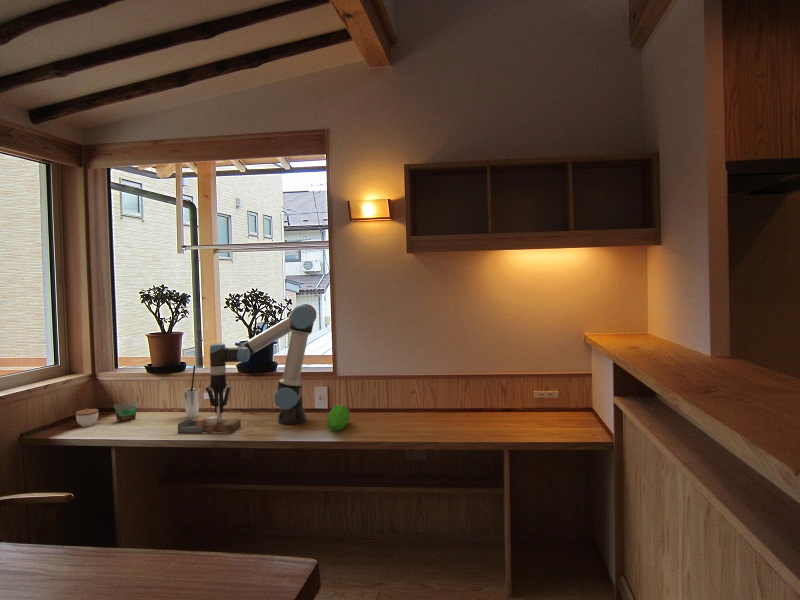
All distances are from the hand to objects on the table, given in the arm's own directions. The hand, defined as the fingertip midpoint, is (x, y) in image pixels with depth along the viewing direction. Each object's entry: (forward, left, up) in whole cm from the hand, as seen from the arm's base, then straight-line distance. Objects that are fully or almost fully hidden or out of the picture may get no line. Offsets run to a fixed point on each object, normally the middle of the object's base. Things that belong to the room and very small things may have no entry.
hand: (219, 419), depth 276 cm
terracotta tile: (+9, 0, -3) cm, 9 cm away
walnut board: (-1, 0, -6) cm, 6 cm away
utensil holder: (+27, -26, -6) cm, 38 cm away
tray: (+13, 0, -6) cm, 14 cm away
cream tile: (+3, 0, -2) cm, 4 cm away
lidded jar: (+77, -7, -6) cm, 78 cm away
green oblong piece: (-61, -2, -6) cm, 61 cm away
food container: (+60, -16, -6) cm, 62 cm away
